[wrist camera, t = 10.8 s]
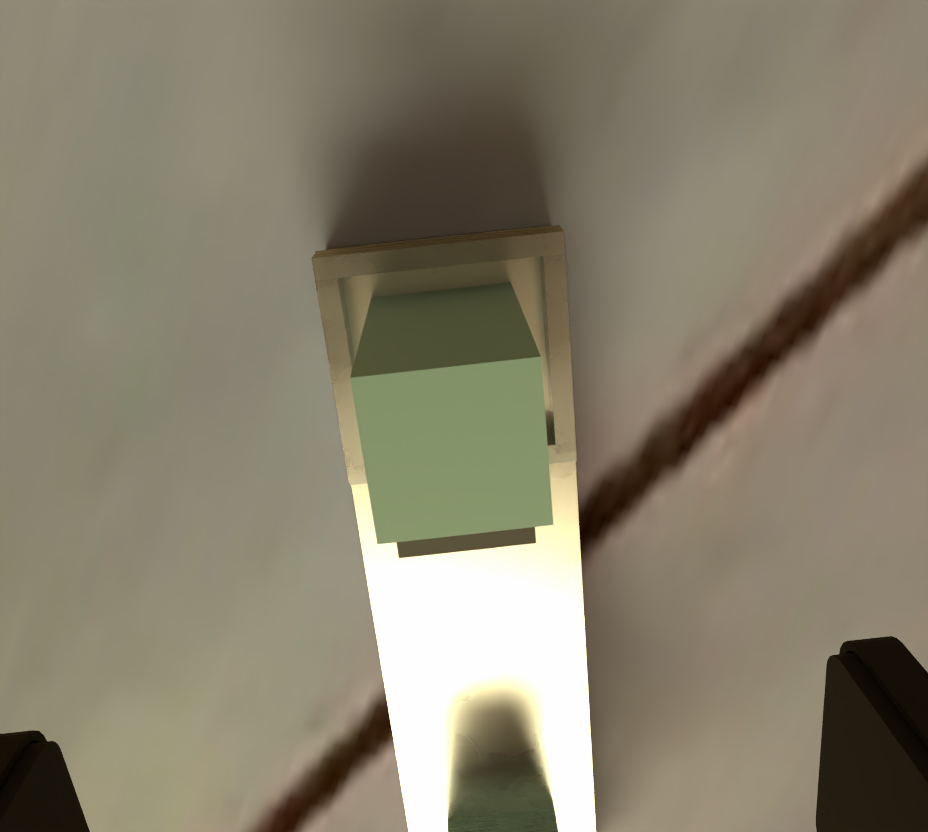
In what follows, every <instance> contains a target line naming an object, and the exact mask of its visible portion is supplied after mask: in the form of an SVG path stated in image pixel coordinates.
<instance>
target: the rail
mask: <svg viewBox="0 0 928 832" xmlns="http://www.w3.org/2000/svg"><path fill="white" fill-rule="evenodd" d="M312 264H313V270H314V276H315V282H316V288H317V294H318V300H319V306H320V312H321V317H322V323H323V329H324V335H325V341H326V347H327V353H328V359H329V365H330V371H331V377H332V383H333V389H334V395H335V401H336V407H337V413H338V419H339V425H340V431H341V437H342V443H343V449H344V455H345V461H346V467H347V473H348V479H349V485H351V486H352V492H353V498H354V504H355V510H356V516H357V522H358V528H359V534H360V540H361V546H362V552H363V558H364V564H365V570H366V576H367V582H368V588H369V595H370V601H371V607H372V613H373V619H374V625H375V631H376V637H377V643H378V649H379V655H380V661H381V667H382V673H383V679H384V685H385V691H386V697H387V703H388V709H389V715H390V721H391V727H392V733H393V739H394V745H395V751H396V757H397V763H398V769H399V776H400V782H401V788H402V794H403V800H404V806H405V812H406V818H407V824H408V830H409V832H596V823H595V804H594V786H593V768H592V750H591V732H590V714H589V696H588V678H587V660H586V641H585V623H584V605H583V587H582V569H581V551H580V533H579V515H578V496H577V478H576V461H577V455H576V437H575V418H574V400H573V382H572V363H571V345H570V327H569V308H568V290H567V272H566V253H565V235H564V230H563V229H562V228H561V227H560V226H559V225H558V226H552V225H548V226H539V227H529V228H520V229H511V230H501V231H492V232H483V233H473V234H464V235H454V236H445V237H436V238H426V239H417V240H408V241H398V242H389V243H380V244H370V245H361V246H351V247H342V248H333V249H325V250H323V251H316V252H315V254H314V255H313V257H312ZM507 282H511V284H512V287H513V289H514V291H515V294H516V296H517V299H518V301H519V304H520V306H521V309H522V311H523V314H524V316H525V318H526V321H527V323H528V326H529V328H530V331H531V333H532V336H533V338H534V341H535V343H536V346H537V348H538V350H539V353H540V355H541V363H542V377H543V390H544V404H545V417H546V431H547V444H548V458H549V471H550V485H551V498H552V512H553V525H548V526H539V527H535V535H536V543H533V544H524V545H515V546H506V547H497V548H488V549H479V550H470V551H461V552H452V553H443V554H434V555H425V556H416V557H407V558H399V556H398V549H397V543H396V542H395V543H386V544H377V539H376V533H375V527H374V521H373V515H372V509H371V503H370V497H369V491H368V485H367V478H366V472H365V466H364V460H363V454H362V448H361V442H360V436H359V430H358V424H357V417H356V411H355V405H354V399H353V393H352V387H351V381H350V376H351V372H352V369H353V365H354V361H355V357H356V354H357V350H358V346H359V342H360V338H361V335H362V331H363V327H364V323H365V319H366V316H367V312H368V308H369V304H370V300H371V298H373V297H382V296H391V295H400V294H409V293H418V292H427V291H436V290H445V289H454V288H462V287H471V286H480V285H489V284H498V283H507Z"/></svg>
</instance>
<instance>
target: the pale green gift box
mask: <svg viewBox="0 0 928 832" xmlns="http://www.w3.org/2000/svg"><path fill="white" fill-rule="evenodd" d="M350 381H351V387H352V393H353V399H354V405H355V411H356V417H357V424H358V430H359V436H360V442H361V448H362V454H363V460H364V466H365V472H366V478H367V485H368V491H369V497H370V503H371V509H372V515H373V521H374V527H375V533H376V539H377V544H386V543H395V542H396V543H397V549H398V556H399V558H407V557H416V556H425V555H434V554H443V553H452V552H461V551H470V550H479V549H488V548H497V547H506V546H515V545H524V544H533V543H536V535H535V527H539V526H548V525H553V512H552V498H551V485H550V471H549V458H548V444H547V431H546V417H545V404H544V390H543V377H542V363H541V355H540V353H539V350H538V348H537V346H536V343H535V341H534V338H533V336H532V333H531V331H530V328H529V326H528V323H527V321H526V318H525V316H524V314H523V311H522V309H521V306H520V304H519V301H518V299H517V296H516V294H515V291H514V289H513V287H512V284H511V282H507V283H498V284H489V285H480V286H471V287H462V288H454V289H445V290H436V291H427V292H418V293H409V294H400V295H391V296H382V297H373V298H371V300H370V304H369V308H368V312H367V316H366V319H365V323H364V327H363V331H362V335H361V338H360V342H359V346H358V350H357V354H356V357H355V361H354V365H353V369H352V372H351V376H350Z"/></svg>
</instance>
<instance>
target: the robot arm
mask: <svg viewBox="0 0 928 832" xmlns="http://www.w3.org/2000/svg"><path fill="white" fill-rule="evenodd" d="M816 828H817V832H928V673H927V671H926V670H925V669H924V668H923V667H922V666H921V664H920V663H919V662H918V661H917V660H916V659H915V657H914V656H913V655H912V654H911V653H910V652H909V650H908V649H907V648H906V647H905V646H904V644H903V643H902V642H900V641H899V640H898V639H897V638H895V637H892V636H889V637H880V638H871V639H862V640H853V641H847V642H844V643H843V644H842V646H841V648H840V653H839V655H832V656H830V657H829V659H828V661H827V669H826V683H825V697H824V711H823V725H822V739H821V753H820V767H819V781H818V796H817V810H816ZM0 832H90V831H89V828H88V826H87V823H86V820H85V817H84V814H83V811H82V809H81V806H80V803H79V800H78V797H77V794H76V792H75V789H74V786H73V783H72V780H71V777H70V775H69V772H68V769H67V766H66V763H65V760H64V758H63V755H62V752H61V749H60V747H59V745H58V744H57V743H56V742H54V741H48V742H47V741H46V739H45V737H44V735H43V734H42V733H41V732H39V731H24V732H15V733H6V734H0Z"/></svg>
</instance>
